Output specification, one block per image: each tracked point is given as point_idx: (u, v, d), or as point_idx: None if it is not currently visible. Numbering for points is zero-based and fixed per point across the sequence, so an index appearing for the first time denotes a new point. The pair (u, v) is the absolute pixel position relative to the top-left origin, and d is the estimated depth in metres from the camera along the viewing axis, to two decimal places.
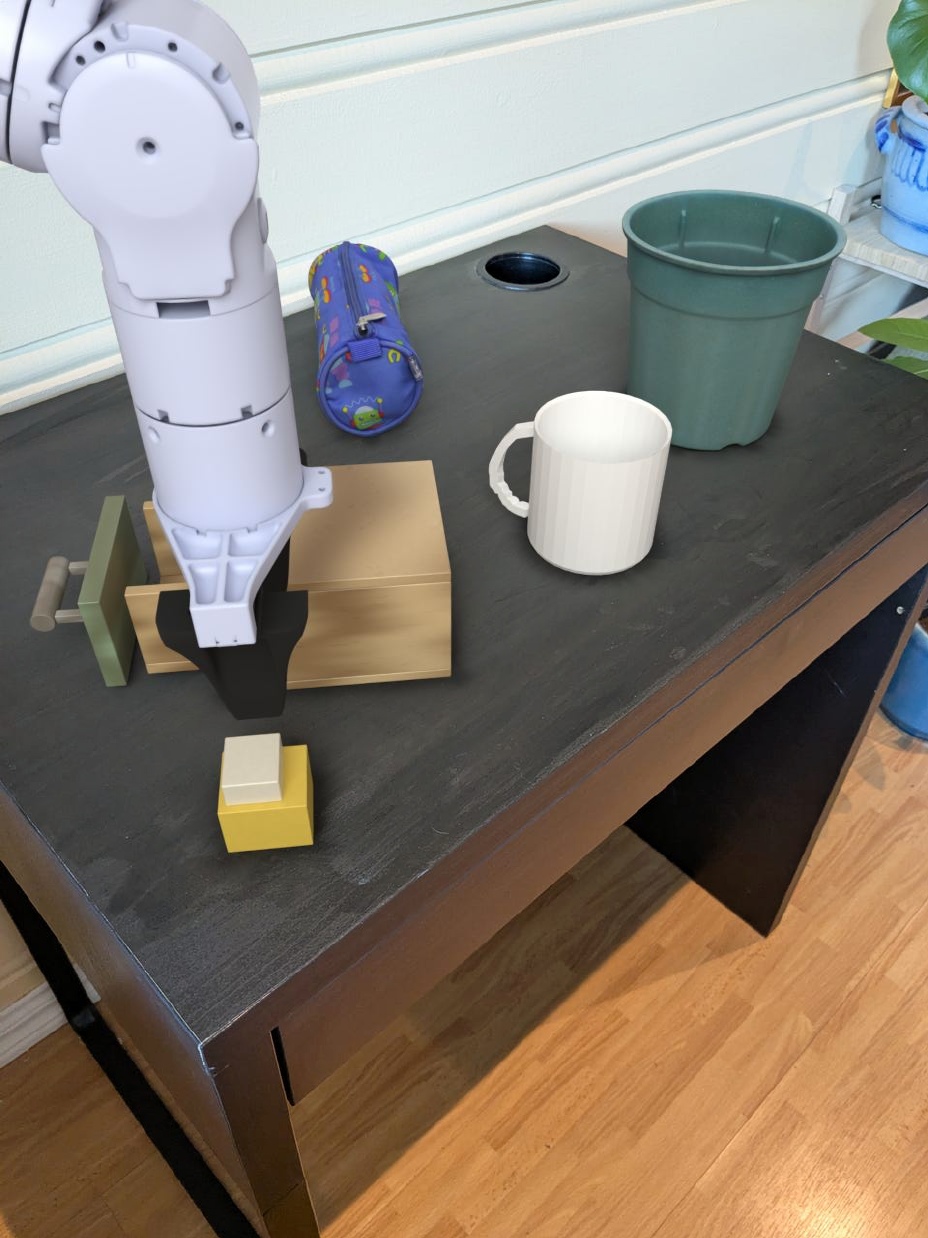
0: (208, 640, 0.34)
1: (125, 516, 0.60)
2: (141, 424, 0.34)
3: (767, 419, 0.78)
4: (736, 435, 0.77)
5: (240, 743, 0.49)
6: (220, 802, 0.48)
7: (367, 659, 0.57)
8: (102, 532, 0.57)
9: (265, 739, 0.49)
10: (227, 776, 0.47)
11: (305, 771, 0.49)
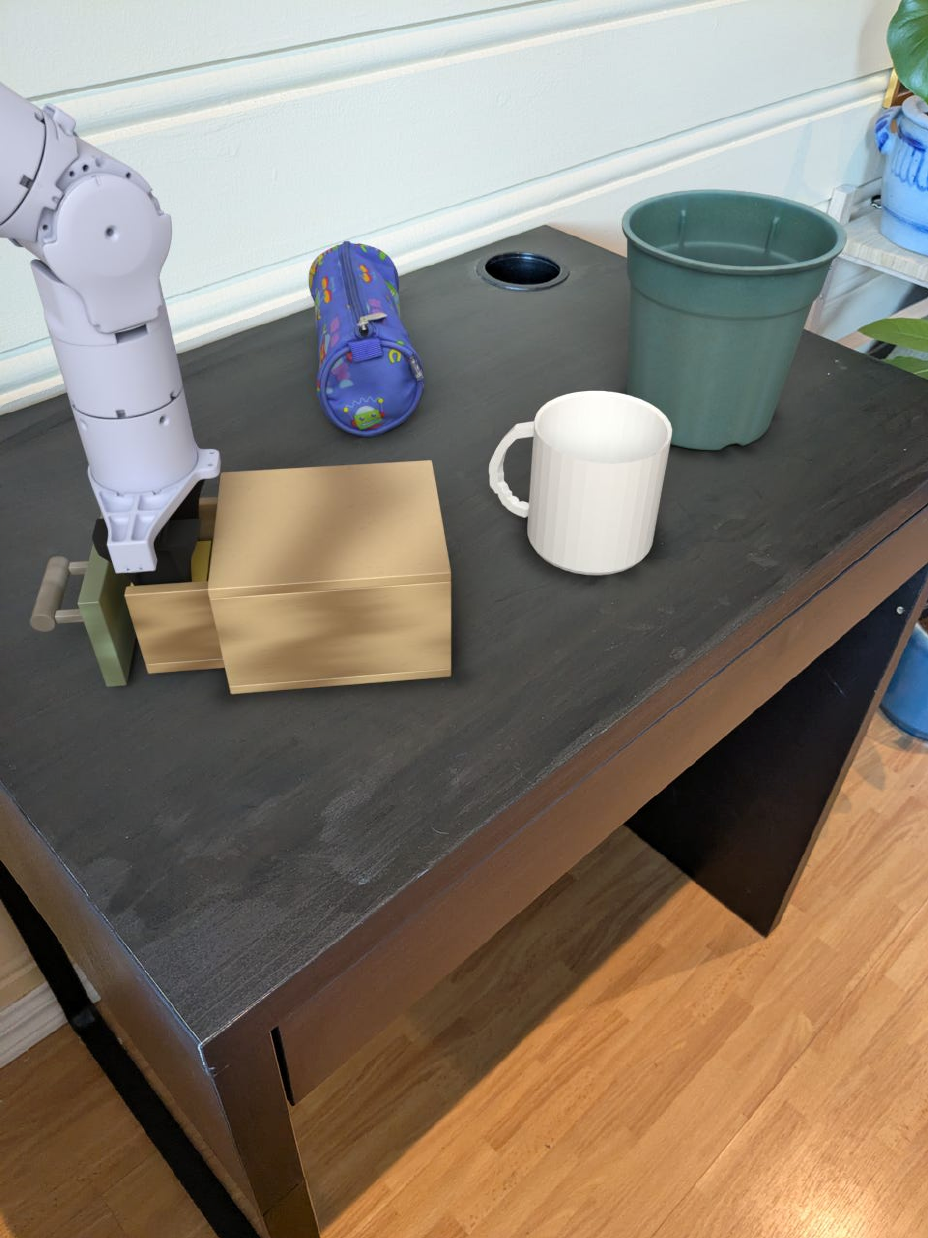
0: (122, 568, 0.49)
1: None
2: (75, 417, 0.49)
3: (767, 419, 0.78)
4: (736, 435, 0.77)
5: None
6: None
7: (367, 659, 0.57)
8: None
9: None
10: None
11: (207, 558, 0.58)
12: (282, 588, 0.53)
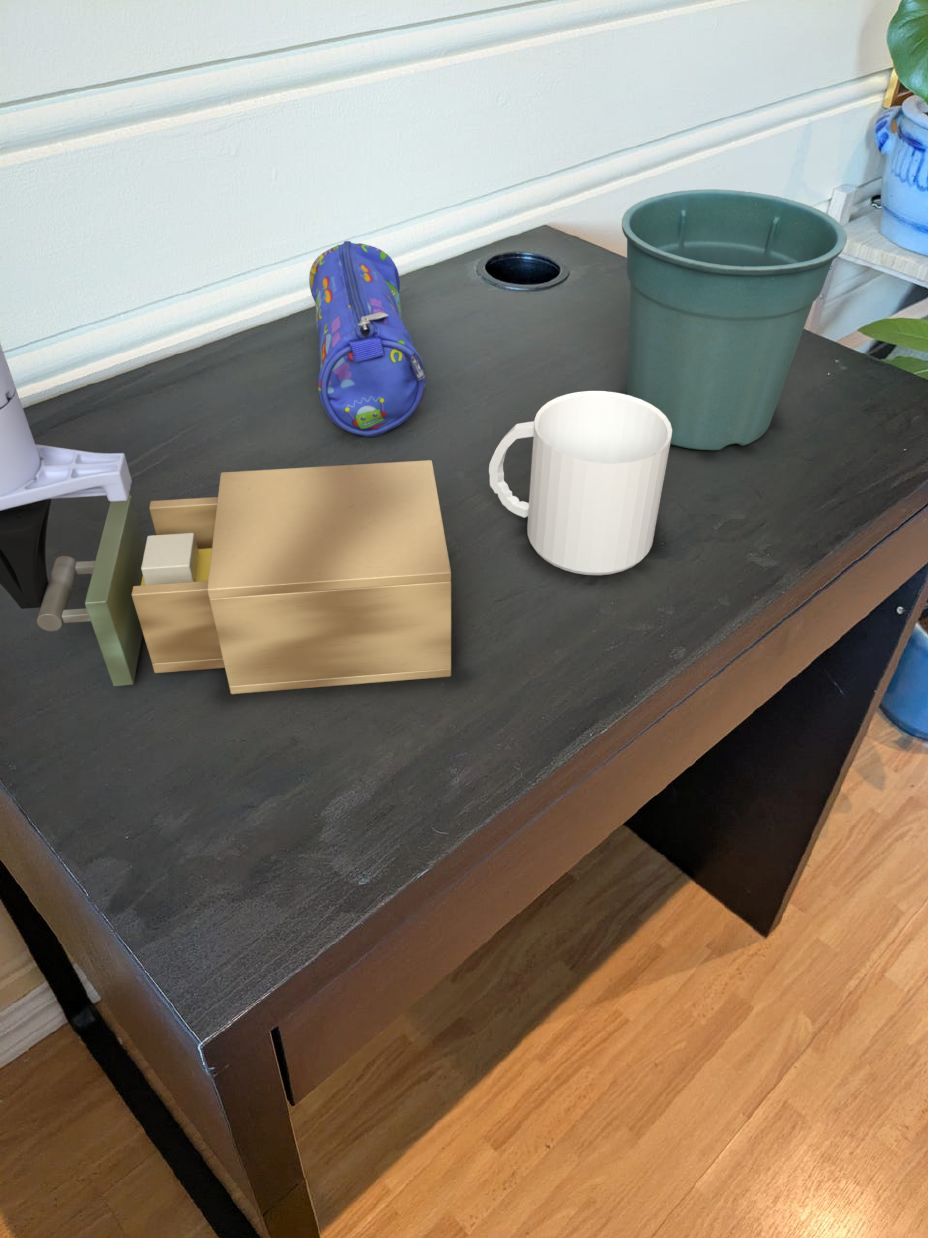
0: (127, 491, 0.53)
1: (131, 516, 0.60)
2: None
3: (767, 419, 0.78)
4: (736, 435, 0.77)
5: (159, 539, 0.58)
6: None
7: (367, 659, 0.57)
8: (109, 532, 0.57)
9: (181, 537, 0.58)
10: (146, 561, 0.56)
11: None
12: (282, 588, 0.53)
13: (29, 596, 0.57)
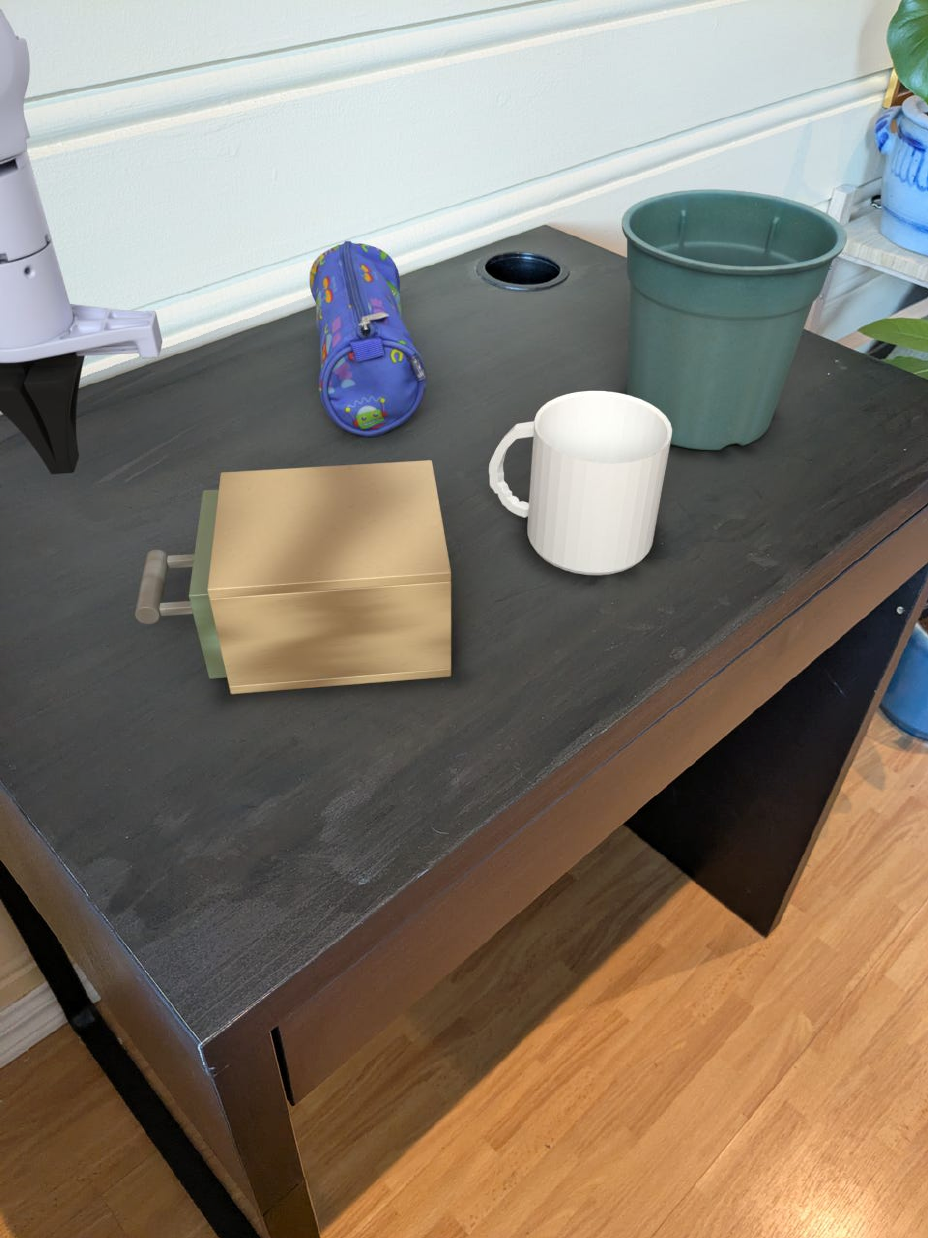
0: (158, 348, 0.54)
1: None
2: (13, 274, 0.49)
3: (767, 419, 0.78)
4: (736, 435, 0.77)
5: None
6: None
7: (367, 659, 0.57)
8: (204, 525, 0.58)
9: None
10: None
11: None
12: (282, 588, 0.53)
13: (61, 459, 0.58)
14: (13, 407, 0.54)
